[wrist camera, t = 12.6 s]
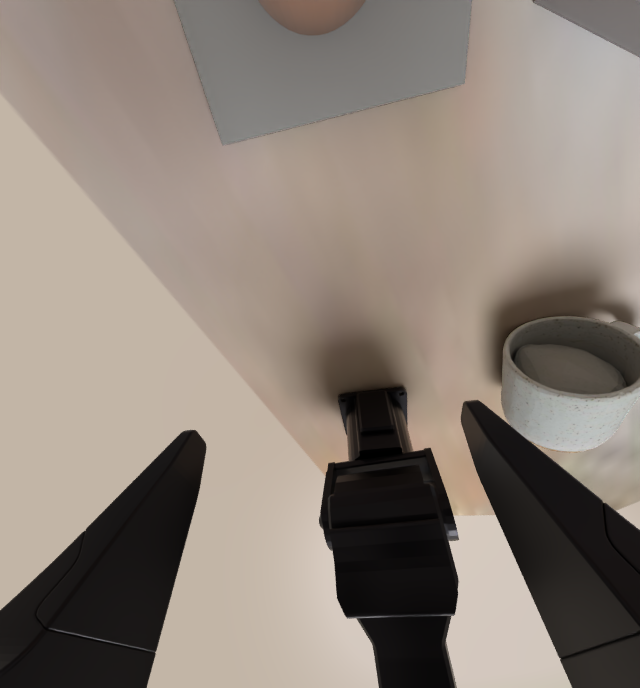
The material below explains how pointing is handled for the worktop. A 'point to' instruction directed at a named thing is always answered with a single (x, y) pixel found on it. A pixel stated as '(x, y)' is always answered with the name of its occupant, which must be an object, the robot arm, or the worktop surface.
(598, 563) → the robot arm
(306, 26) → the peach rounded cylinder
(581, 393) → the ceramic mug
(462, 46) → the mat
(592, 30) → the holder
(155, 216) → the worktop surface
